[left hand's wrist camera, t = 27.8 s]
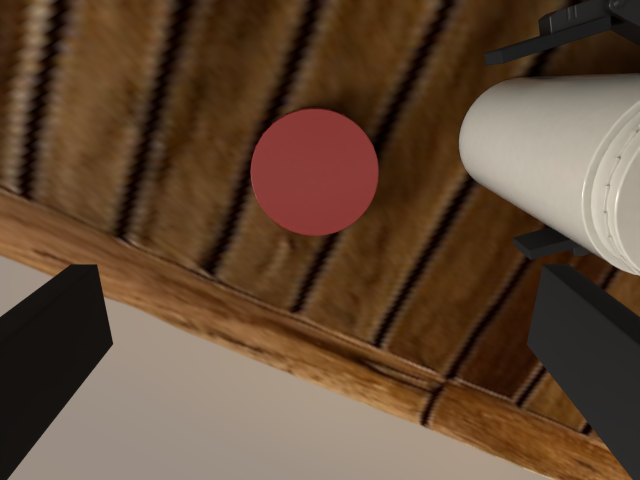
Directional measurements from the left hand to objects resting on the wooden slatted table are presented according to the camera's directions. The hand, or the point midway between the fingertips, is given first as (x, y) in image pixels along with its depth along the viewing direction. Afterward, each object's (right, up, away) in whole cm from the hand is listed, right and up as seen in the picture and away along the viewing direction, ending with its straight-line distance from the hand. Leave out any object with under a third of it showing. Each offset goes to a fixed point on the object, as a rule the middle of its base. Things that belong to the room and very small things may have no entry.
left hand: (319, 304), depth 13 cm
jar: (+16, +10, +22) cm, 29 cm away
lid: (0, +7, +21) cm, 23 cm away
